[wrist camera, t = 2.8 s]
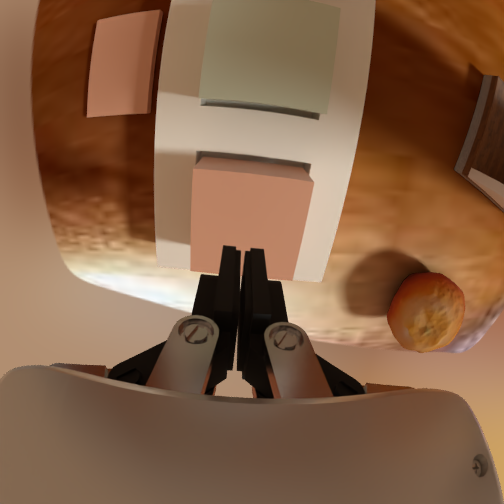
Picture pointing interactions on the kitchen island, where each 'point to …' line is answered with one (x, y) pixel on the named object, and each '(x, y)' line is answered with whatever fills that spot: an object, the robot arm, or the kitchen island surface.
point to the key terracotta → (248, 213)
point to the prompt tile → (123, 64)
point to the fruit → (426, 312)
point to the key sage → (271, 53)
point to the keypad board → (256, 132)
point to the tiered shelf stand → (486, 143)
